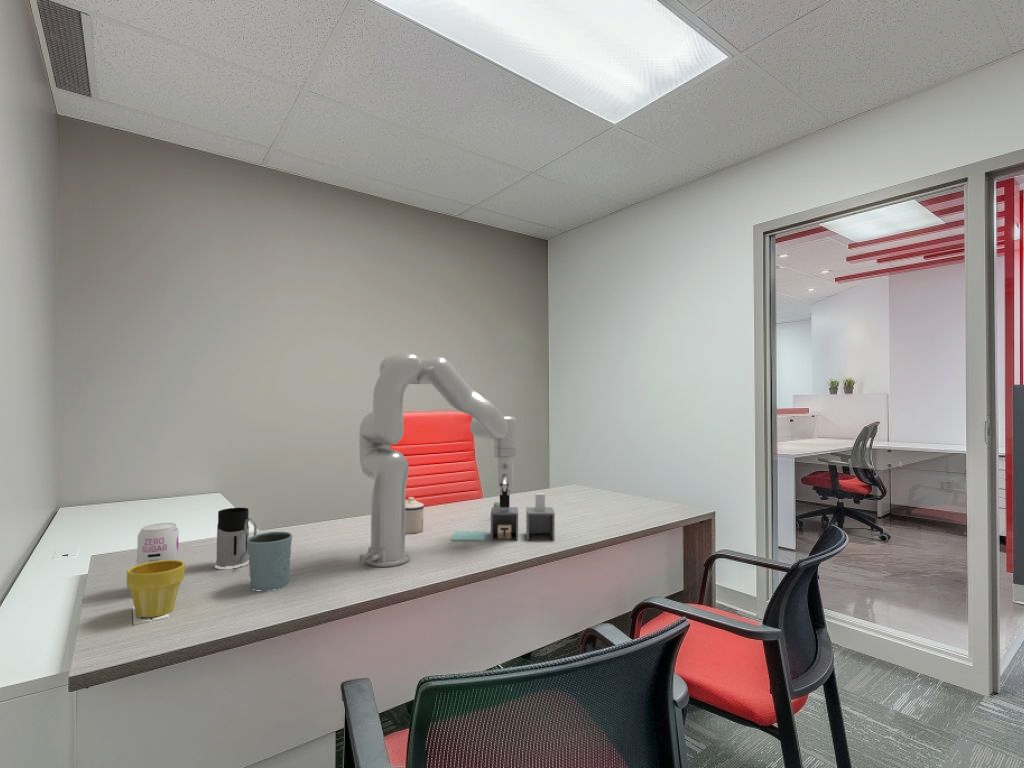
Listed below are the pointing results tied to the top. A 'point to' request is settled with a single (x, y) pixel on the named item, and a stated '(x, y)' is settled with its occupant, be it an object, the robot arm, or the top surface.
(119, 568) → the top surface
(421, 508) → the teacup with lid
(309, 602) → the top surface
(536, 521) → the cover
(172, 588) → the plant pot
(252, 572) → the teal cup
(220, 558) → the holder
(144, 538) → the supplement can
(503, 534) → the letter cube
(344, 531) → the top surface
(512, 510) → the cover
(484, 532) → the mat
